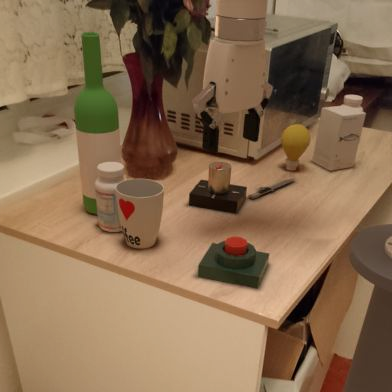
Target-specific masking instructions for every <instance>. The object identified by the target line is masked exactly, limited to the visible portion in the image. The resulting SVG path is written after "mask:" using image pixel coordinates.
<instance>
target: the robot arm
mask: <svg viewBox="0 0 392 392" xmlns="http://www.w3.org/2000/svg"><path fill="white" fill-rule="evenodd" d="M215 2H216V3H215V20H214V36H213V37H214V38H213V39H210V42H209V45H208V49H207V53H206V59H205V64H204V72H203V79H202V80H203V82H202V90H201V91H200V92H199V93H198V94H197V95H196V96H195V97H193V98H192V101H191V103H192V106H193V109H194V112H195V117H196V118H197V120H198V121H199V124H200V125H202V145H201V147H202V149H203V150H204V151H207V152H209V153H212V154H217V153H218V151H219V140H220V127H217V126H218V124H219V123H220V121H221V119H222V118H223V116H224V115H228V114H233V113H237V112H243V111H247V113H244V118H243V130H242V138H243V139H245V140H248V141H250V142H253V143H257V142H258V141H259V138H260V137H259V136H260V128H261V127H260V126H261V119H262V117H264V114H265V109H266V108H267V106H268V104H269V99H270V97H271V95H272V92H273V90H274V86H273V85H272V84H271V83H269V82H268V81H267V80H266V39H265V31H266V27H267V12H268V5H269V0H216V1H215ZM213 113H214V114H213ZM212 115H213V116H212ZM384 250H385V252H386V254H387V255H388V256H389V257H390V258H391V259H392V236H391V237H389V238H388V239H387V240H386V243H385V246H384Z"/></svg>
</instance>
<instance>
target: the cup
mask: <svg viewBox="0 0 392 392" xmlns="http://www.w3.org/2000/svg"><path fill="white" fill-rule="evenodd" d="M115 190H116V199H117V208H118V214H119V219H120V223H121V228H122V231H121V232H122V234H123V237H124V239H125V242H126V244H127V246H129V247H131V248H132V249H133V248H134V249H140V250H141V249H148V248H151V247H153V246H154V245H155V243H156V241H157V237H158V235H159V232H160V228H161V223H162V217H163V211H164V210H163V209H164V195H165V185H163V184H162V183H161V182H160V181H157V180H153V179H151V178H150V179H149V178H130V179H127V180H124V181H121V182H119V183H118V184H117V185H116V186H115Z"/></svg>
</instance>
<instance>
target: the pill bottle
mask: <svg viewBox="0 0 392 392" xmlns="http://www.w3.org/2000/svg"><path fill="white" fill-rule="evenodd" d="M97 170H98V176H99V178H98V179H97V180H96V182H95V193H96V204H97V214H98V215H97V223H98V227H99V228H101V230H102V231H105V232H108V233H109V232H110V233H118V232H123V231H122V228H121V223H120V219H119V214H118V208H117V199H116V190H115V186H116V185H117V184H118V183H119V182H121V181H124V180H128V179H127V177H125V165H124V164H123V163H122V162H121V163H118V162H104V163H101V164H99V165H98V166H97Z"/></svg>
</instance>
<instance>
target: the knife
mask: <svg viewBox="0 0 392 392" xmlns="http://www.w3.org/2000/svg"><path fill="white" fill-rule="evenodd" d="M293 181H295V178H289V179H286V180H282V181H280V182H278V183H276V184H273V185H271V186H259V190H258V191H256V192H253V193H251V194H248V198H249V199H252V200H254V199H257V198H259V197H261V196H263V195H266V194H269V193H271V192H274V190H276V189H279V188H281V187H282V186H285V185H287V184H289V183H292V182H293Z"/></svg>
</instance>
